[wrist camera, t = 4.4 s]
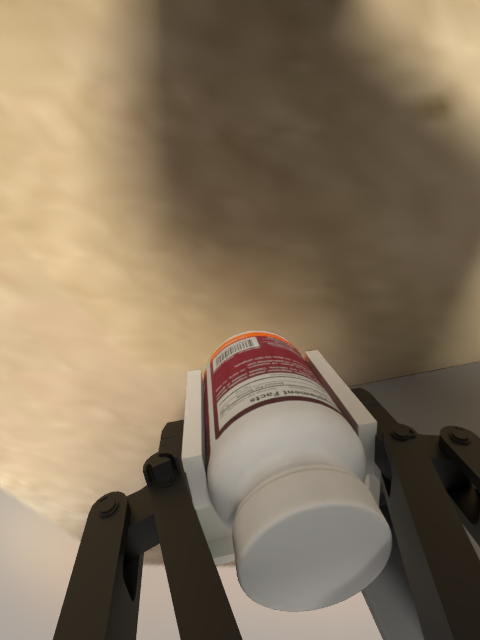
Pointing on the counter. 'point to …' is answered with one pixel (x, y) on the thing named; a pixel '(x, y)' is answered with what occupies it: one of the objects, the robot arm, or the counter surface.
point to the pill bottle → (288, 478)
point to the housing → (406, 408)
